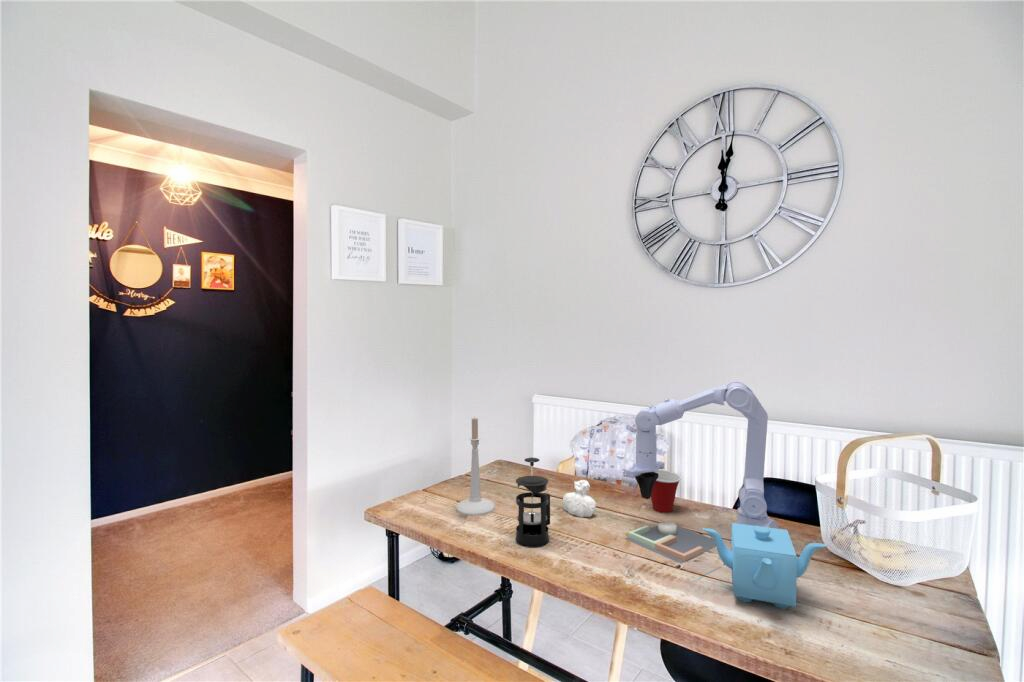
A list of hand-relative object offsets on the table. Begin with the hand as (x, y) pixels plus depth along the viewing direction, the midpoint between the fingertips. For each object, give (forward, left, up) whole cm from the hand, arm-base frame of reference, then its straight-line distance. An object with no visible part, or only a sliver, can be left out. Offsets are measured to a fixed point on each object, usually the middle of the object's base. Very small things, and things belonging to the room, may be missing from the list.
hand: (645, 497), depth 147 cm
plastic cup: (+7, -17, -10) cm, 21 cm away
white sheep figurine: (+22, +5, -10) cm, 24 cm away
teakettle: (-37, +7, -10) cm, 39 cm away
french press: (+16, +29, -10) cm, 34 cm away
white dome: (-5, -3, -9) cm, 11 cm away
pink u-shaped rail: (-14, +4, -10) cm, 17 cm away
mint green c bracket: (-5, +4, -10) cm, 12 cm away
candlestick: (+46, +29, -10) cm, 55 cm away
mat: (-9, 0, -10) cm, 14 cm away
